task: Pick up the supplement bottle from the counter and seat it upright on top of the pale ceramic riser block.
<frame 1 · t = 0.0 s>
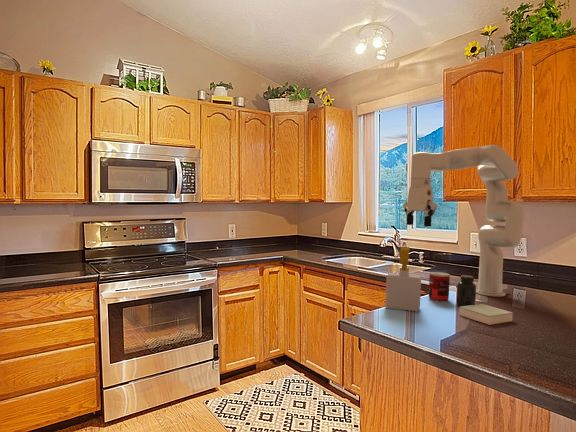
hand: (418, 225, 155), 31 cm above the counter, tool pointing down, fingers open, 9 cm apart
supplement bottle: (465, 306, 152), on the counter
soap bottle: (402, 308, 146), on the counter
canned food: (438, 299, 162), on the counter
riser: (485, 317, 136), on the counter
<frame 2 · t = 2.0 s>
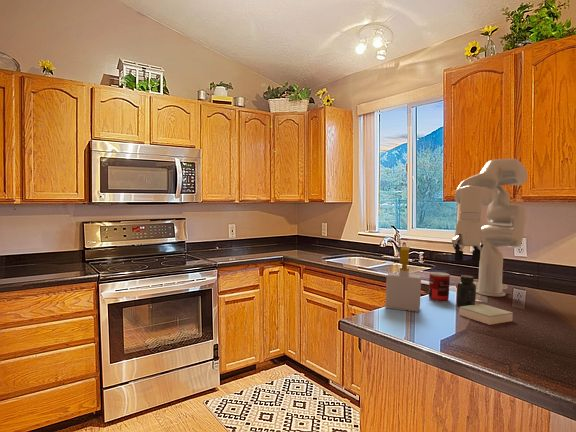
hand: (467, 260, 151), 18 cm above the counter, tool pointing down, fingers open, 9 cm apart
nothing on the counter moved.
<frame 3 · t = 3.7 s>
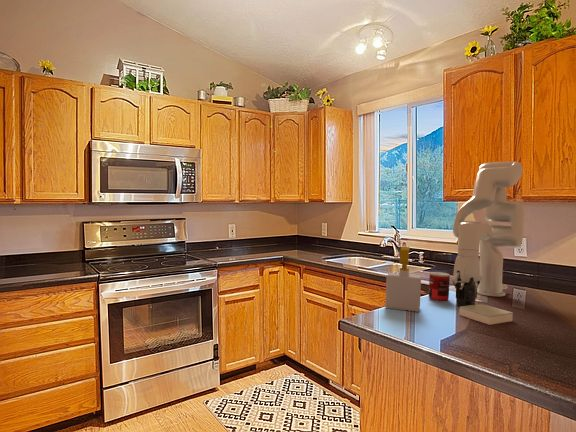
hand: (466, 297, 152), 3 cm above the counter, tool pointing down, fingers closed on supplement bottle, 6 cm apart
supplement bottle: (465, 306, 152), on the counter, touching gripper
everything else where it was.
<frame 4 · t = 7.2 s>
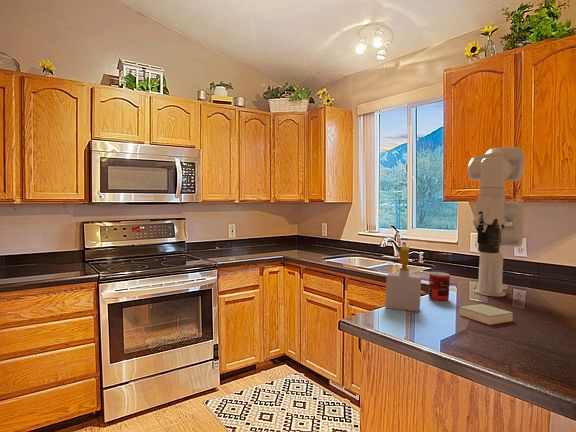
hand: (488, 243, 135), 27 cm above the counter, tool pointing down, fingers closed on supplement bottle, 6 cm apart
supplement bottle: (488, 252, 136), point 23 cm above the counter, touching gripper
everything else where it was.
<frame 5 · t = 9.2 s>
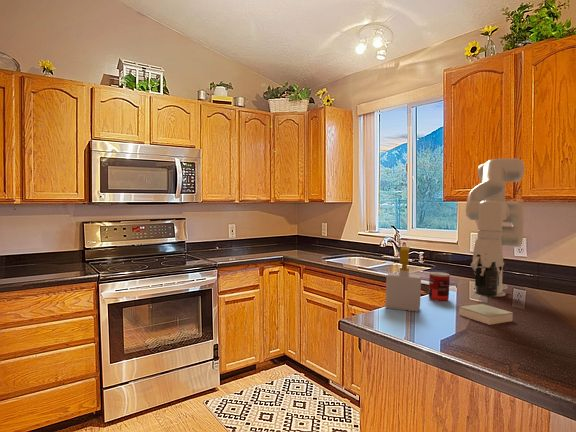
hand: (486, 285, 136), 12 cm above the counter, tool pointing down, fingers closed on supplement bottle, 6 cm apart
supplement bottle: (486, 295, 136), point 8 cm above the counter, touching gripper
everything else where it was.
when the fingers open (8 cm above the counter, at t = 11.0 s): supplement bottle drops 1 cm, resting on riser.
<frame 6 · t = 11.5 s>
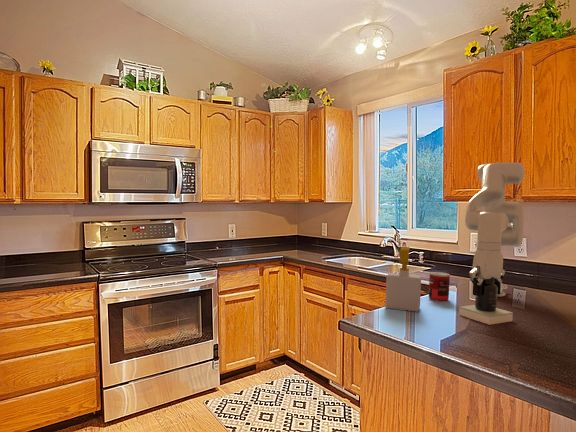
hand: (486, 294, 136), 8 cm above the counter, tool pointing down, fingers open, 9 cm apart
supplement bottle: (485, 309, 136), point 3 cm above the counter, touching riser
everything else where it was.
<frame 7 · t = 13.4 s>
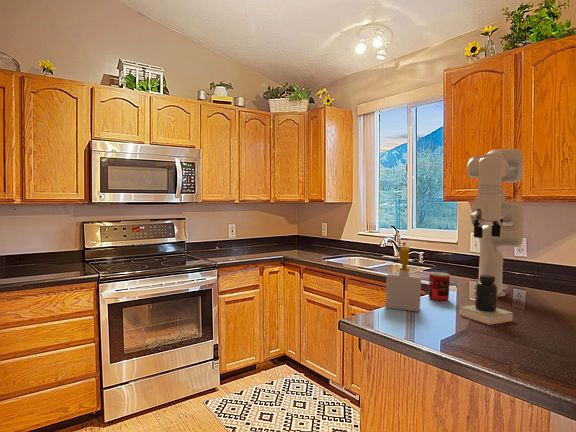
hand: (486, 237, 143), 28 cm above the counter, tool pointing down, fingers open, 9 cm apart
nothing on the counter moved.
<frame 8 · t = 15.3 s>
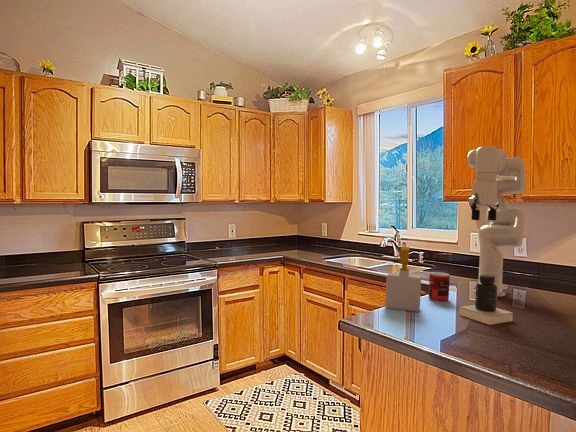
hand: (483, 220, 154), 34 cm above the counter, tool pointing down, fingers open, 9 cm apart
nothing on the counter moved.
at the end: supplement bottle inside the target area on the riser (0.1 cm from its centre), point 2.8 cm above the riser's base; supplement bottle tilted 0°; the gripper is holding nothing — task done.
